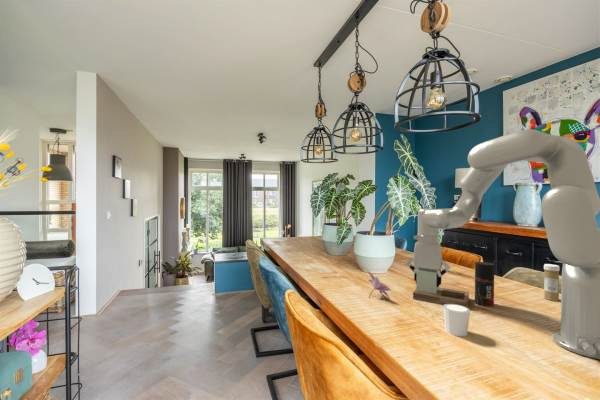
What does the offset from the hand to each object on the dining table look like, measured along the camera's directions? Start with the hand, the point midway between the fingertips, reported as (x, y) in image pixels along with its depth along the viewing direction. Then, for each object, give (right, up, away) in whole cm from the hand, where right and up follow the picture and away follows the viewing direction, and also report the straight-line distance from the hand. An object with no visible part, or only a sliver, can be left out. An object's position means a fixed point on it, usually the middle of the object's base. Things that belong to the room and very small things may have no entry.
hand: (427, 283), depth 111 cm
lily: (-20, -5, -1) cm, 21 cm away
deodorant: (+17, -5, -8) cm, 20 cm away
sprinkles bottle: (+47, -6, -2) cm, 48 cm away
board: (+4, -5, -3) cm, 7 cm away
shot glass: (-5, -5, -30) cm, 31 cm away
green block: (0, -2, 0) cm, 2 cm away
